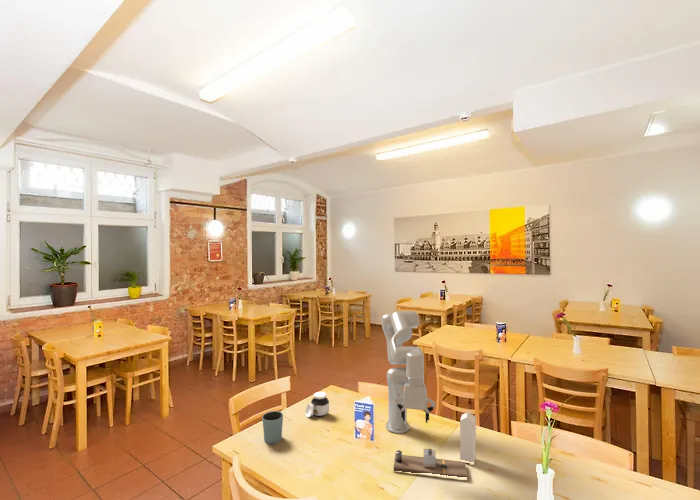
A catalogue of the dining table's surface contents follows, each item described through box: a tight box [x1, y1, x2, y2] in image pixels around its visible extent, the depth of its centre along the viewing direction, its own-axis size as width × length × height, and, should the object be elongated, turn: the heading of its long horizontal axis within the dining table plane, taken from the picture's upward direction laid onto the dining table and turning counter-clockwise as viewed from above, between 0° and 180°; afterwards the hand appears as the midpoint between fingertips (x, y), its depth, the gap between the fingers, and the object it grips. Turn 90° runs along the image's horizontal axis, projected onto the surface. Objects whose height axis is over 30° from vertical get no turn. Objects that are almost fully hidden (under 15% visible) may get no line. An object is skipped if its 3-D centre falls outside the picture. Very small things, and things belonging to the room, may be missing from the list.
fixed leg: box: [395, 449, 403, 463], centre depth 156 cm, size 2×2×4 cm
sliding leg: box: [423, 448, 437, 468], centre depth 154 cm, size 5×5×6 cm
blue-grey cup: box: [261, 410, 284, 445], centre depth 178 cm, size 10×10×12 cm
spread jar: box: [305, 391, 330, 418], centre depth 203 cm, size 12×11×12 cm
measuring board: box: [393, 453, 468, 478], centre depth 154 cm, size 10×30×2 cm, turn 78°
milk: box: [459, 409, 477, 462], centre depth 160 cm, size 6×6×22 cm
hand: (415, 420), depth 155 cm, fingers open, 9 cm apart
